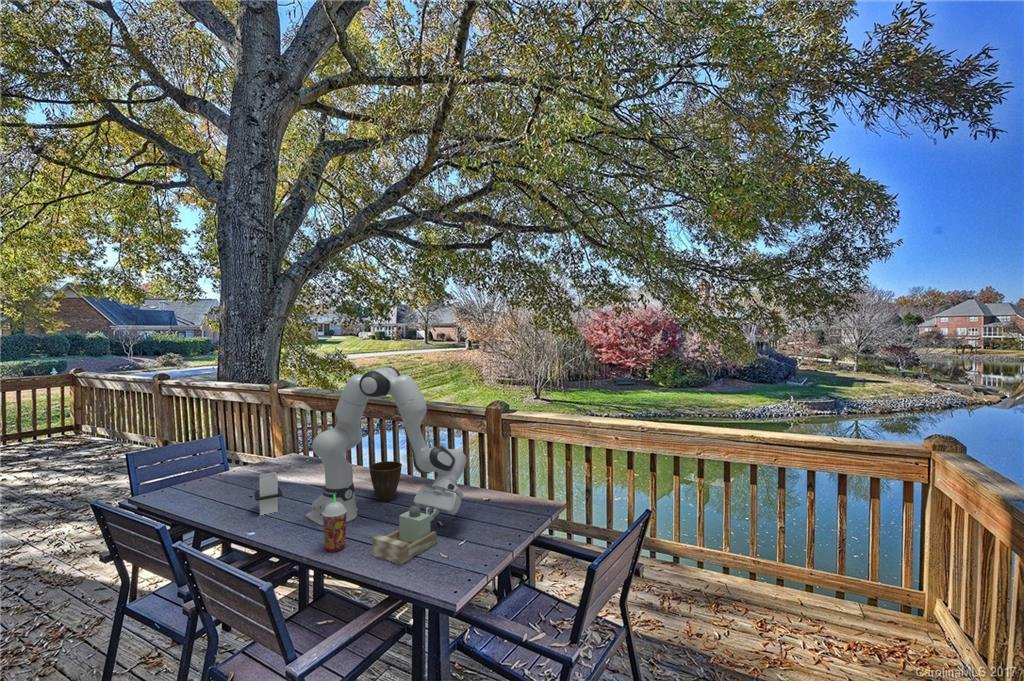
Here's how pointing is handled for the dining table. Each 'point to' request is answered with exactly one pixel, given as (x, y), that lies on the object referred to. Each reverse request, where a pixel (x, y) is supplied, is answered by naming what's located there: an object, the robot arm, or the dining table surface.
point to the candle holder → (268, 493)
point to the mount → (400, 547)
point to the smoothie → (334, 526)
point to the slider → (413, 525)
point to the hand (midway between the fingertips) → (427, 519)
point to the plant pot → (385, 479)
